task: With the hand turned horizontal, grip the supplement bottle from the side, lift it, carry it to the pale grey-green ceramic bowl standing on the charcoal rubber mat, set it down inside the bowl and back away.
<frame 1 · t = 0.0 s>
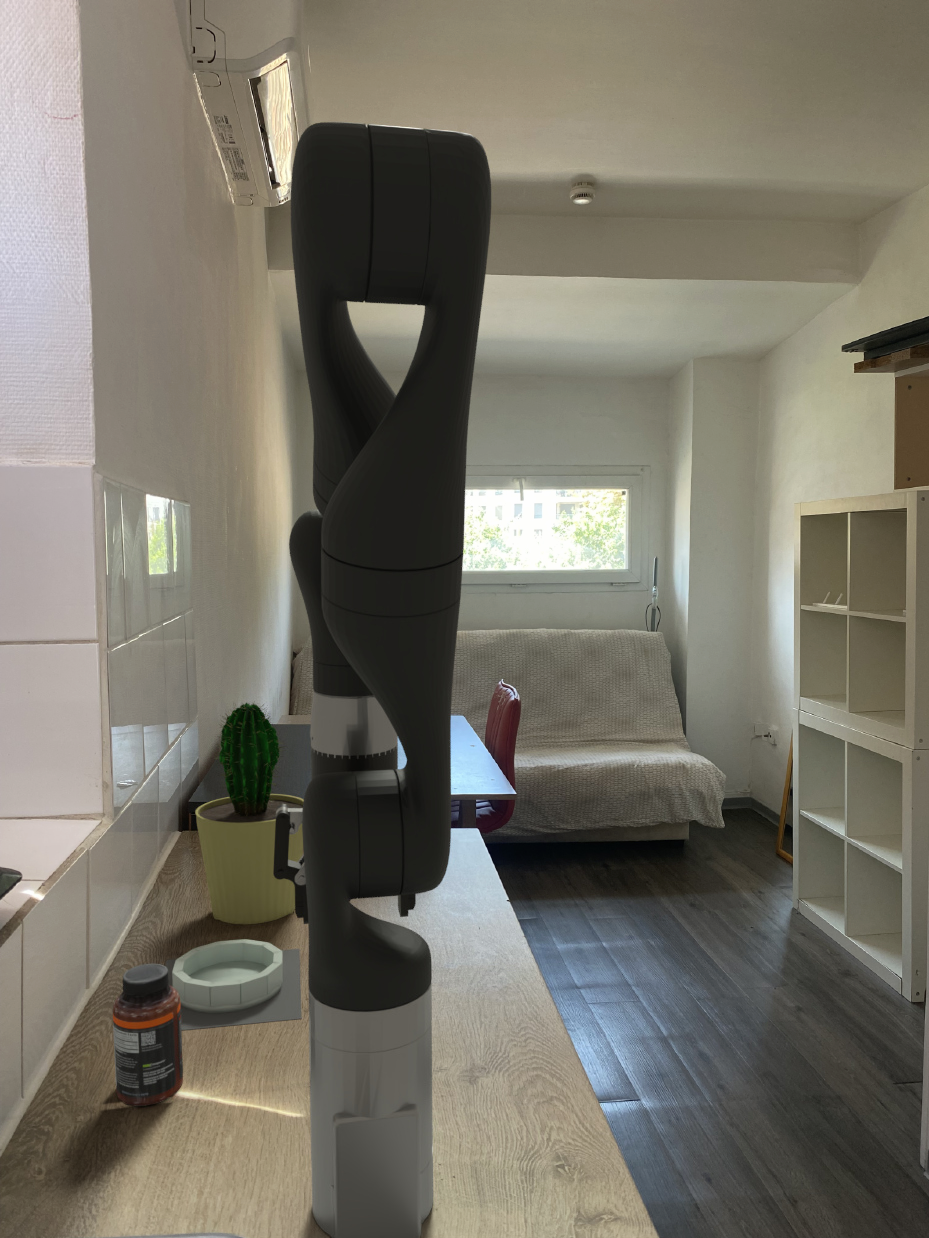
hand: (355, 916, 82), 17 cm above the kitchen counter, tool pointing down, fingers open, 8 cm apart
bowl: (229, 986, 105), resting on mat
mat: (229, 990, 105), on the kitchen counter
supplement bottle: (149, 1092, 85), on the kitchen counter
potted cactus: (254, 912, 129), on the kitchen counter
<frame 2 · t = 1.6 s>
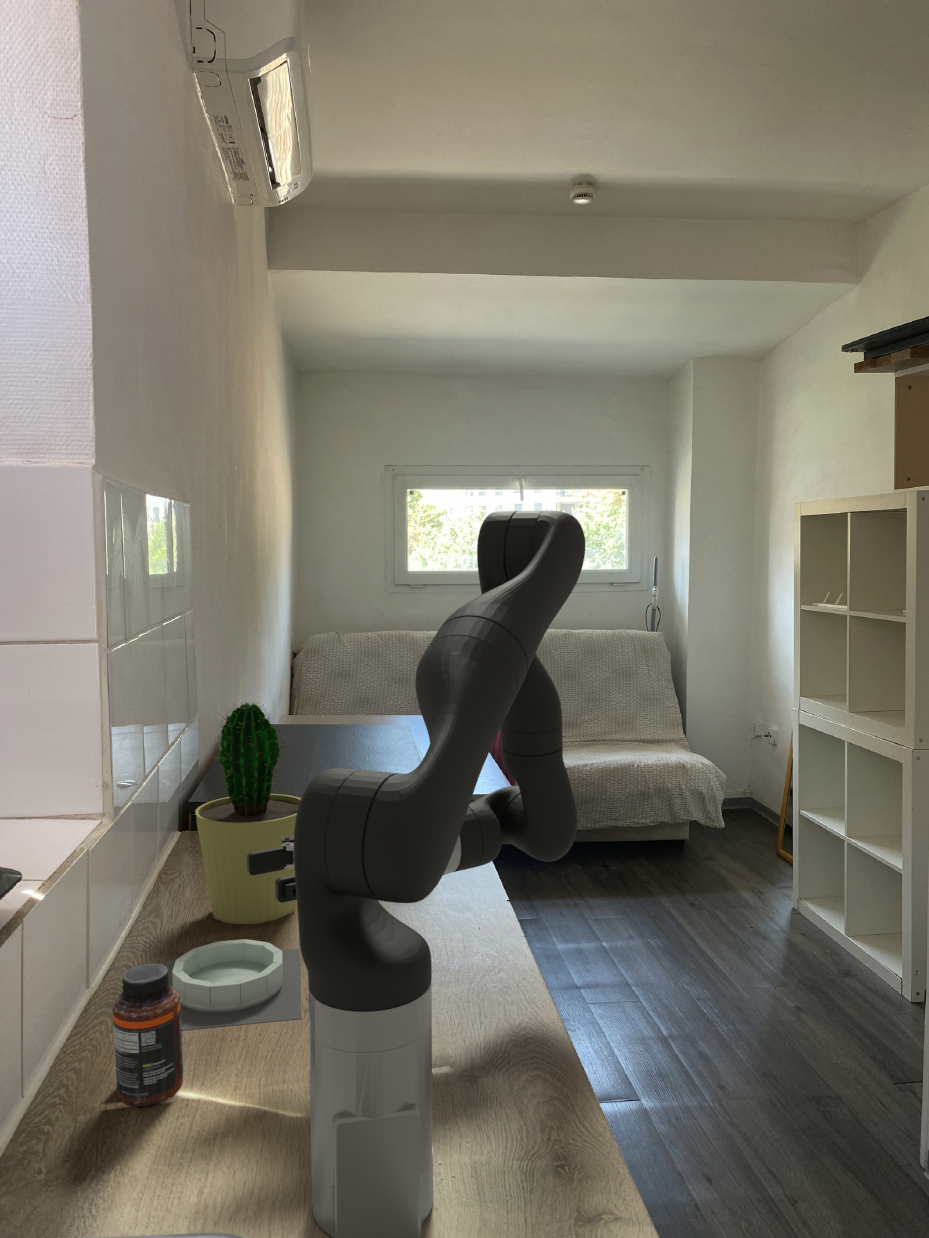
hand: (261, 877, 90), 18 cm above the kitchen counter, tool horizontal, fingers open, 8 cm apart
nothing on the kitchen counter moved.
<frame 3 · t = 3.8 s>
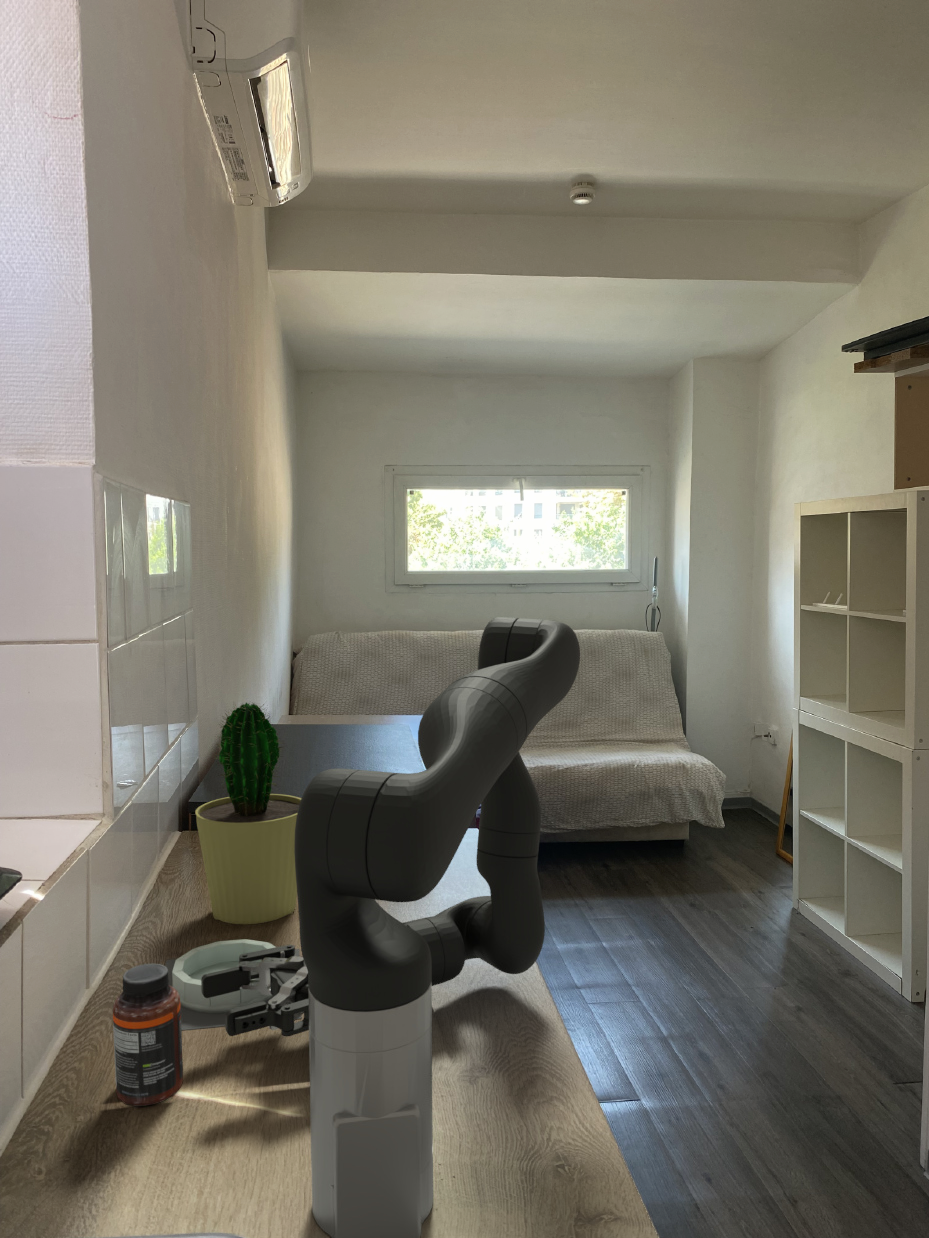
hand: (213, 1004, 88), 7 cm above the kitchen counter, tool horizontal, fingers open, 8 cm apart
nothing on the kitchen counter moved.
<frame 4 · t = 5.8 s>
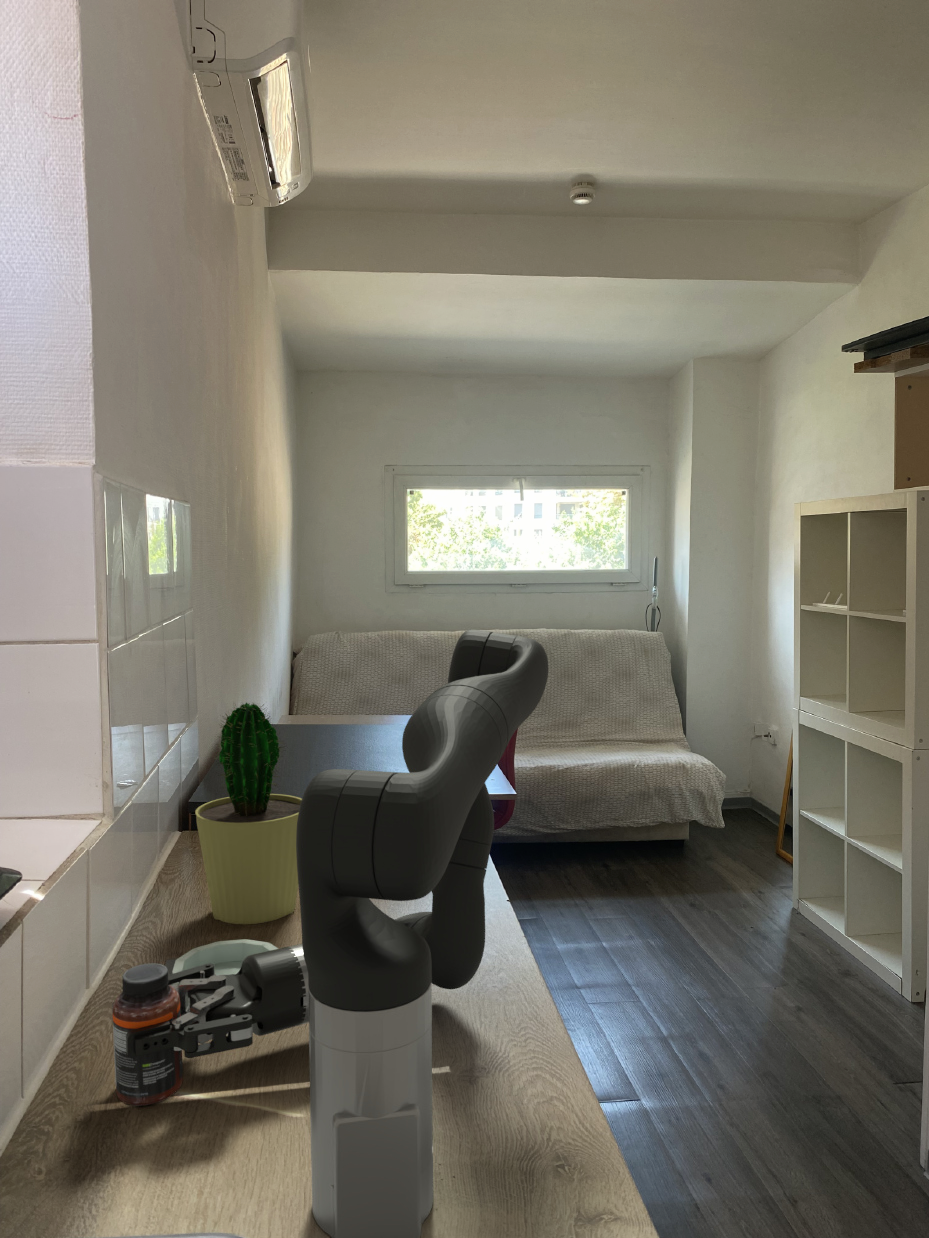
hand: (120, 1028, 84), 7 cm above the kitchen counter, tool horizontal, fingers closed on supplement bottle, 6 cm apart
supplement bottle: (149, 1092, 85), on the kitchen counter, touching gripper
everything else where it was.
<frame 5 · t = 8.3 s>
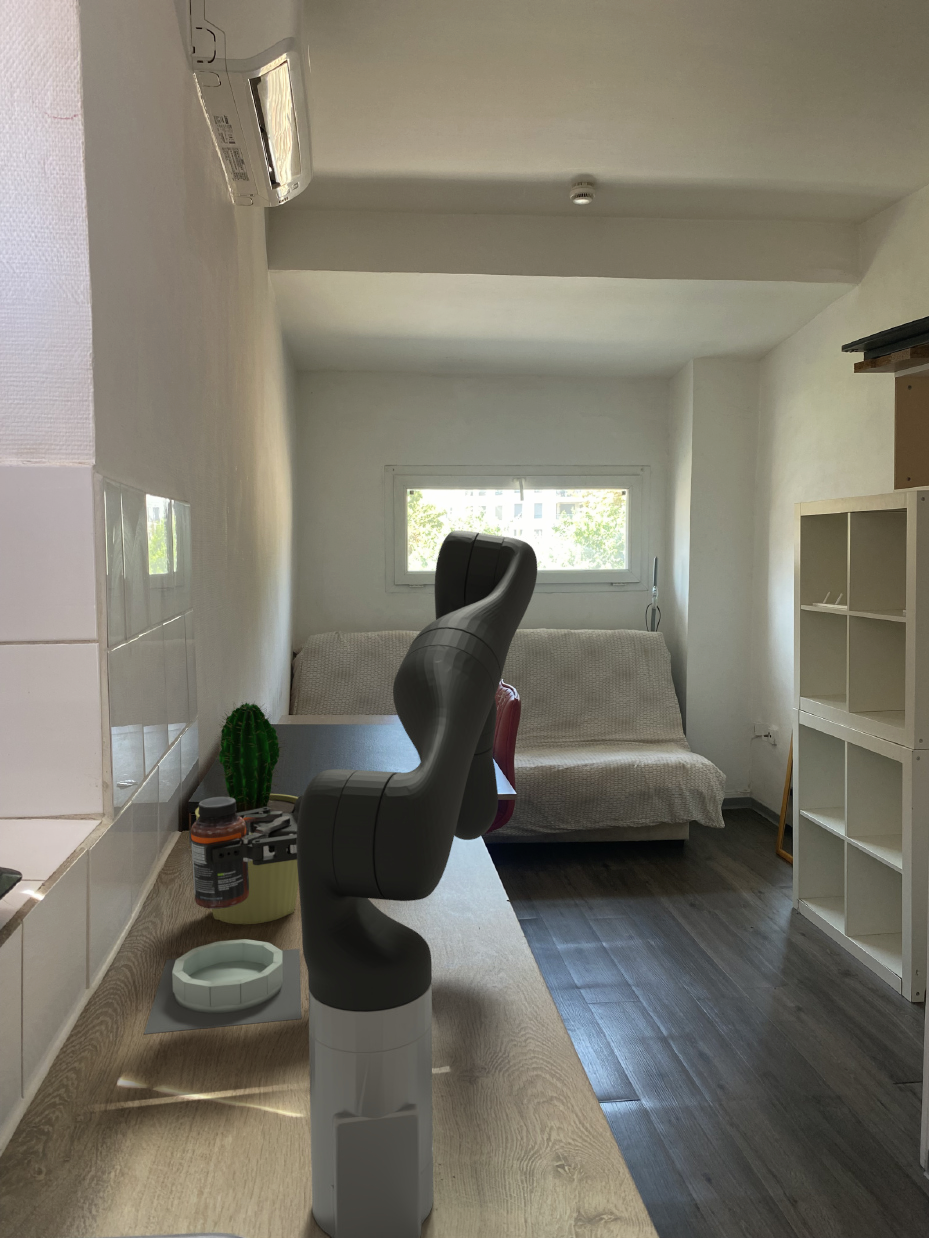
hand: (197, 846, 101), 18 cm above the kitchen counter, tool horizontal, fingers closed on supplement bottle, 6 cm apart
supplement bottle: (222, 902, 102), point 11 cm above the kitchen counter, touching gripper
everything else where it was.
when the fingers open (9 cm above the kitchen counter, at t = 10.7 s): supplement bottle stays where it is, resting on bowl.
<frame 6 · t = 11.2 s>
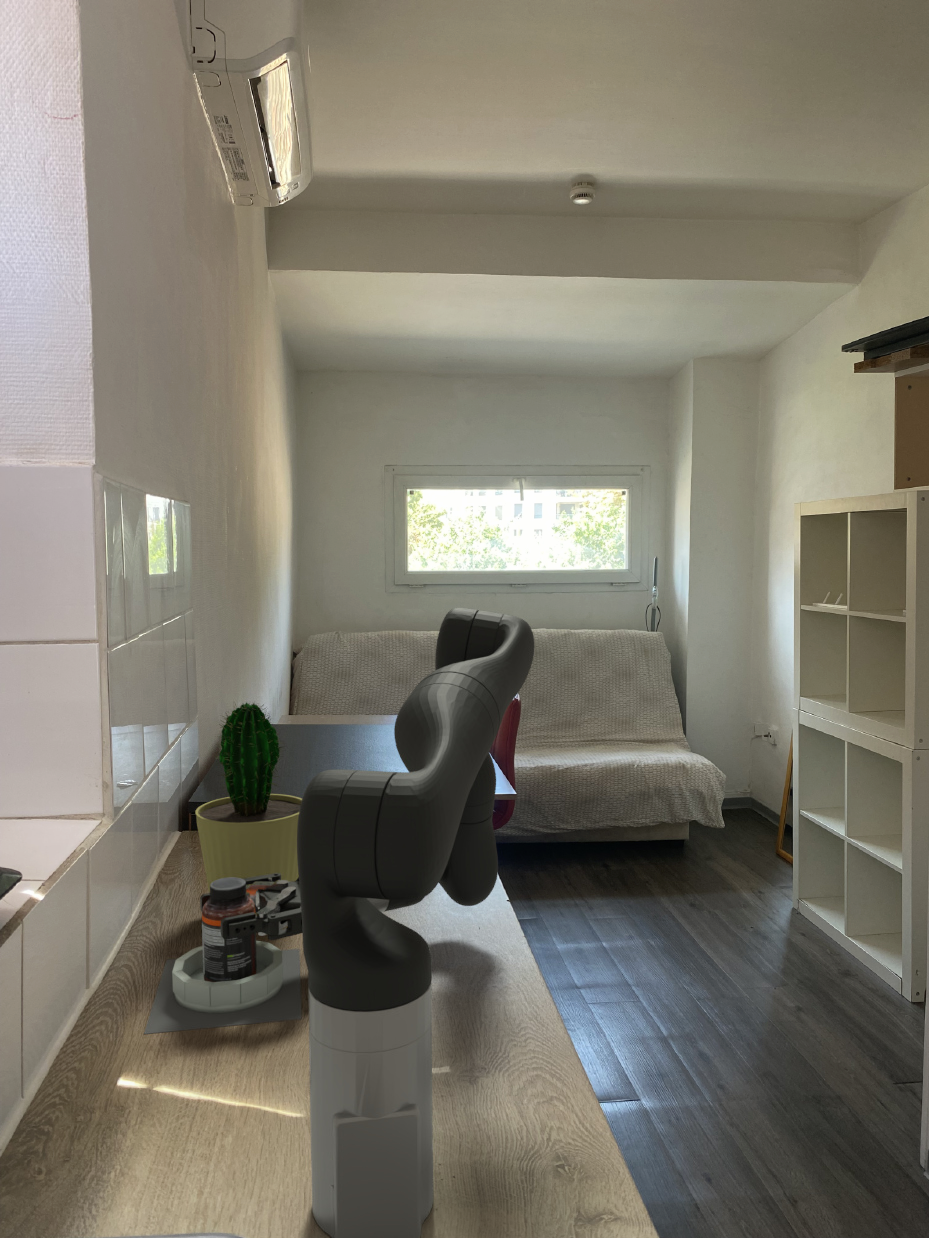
hand: (210, 916, 103), 9 cm above the kitchen counter, tool horizontal, fingers open, 8 cm apart
supplement bottle: (230, 980, 105), point 1 cm above the kitchen counter, touching bowl
everything else where it was.
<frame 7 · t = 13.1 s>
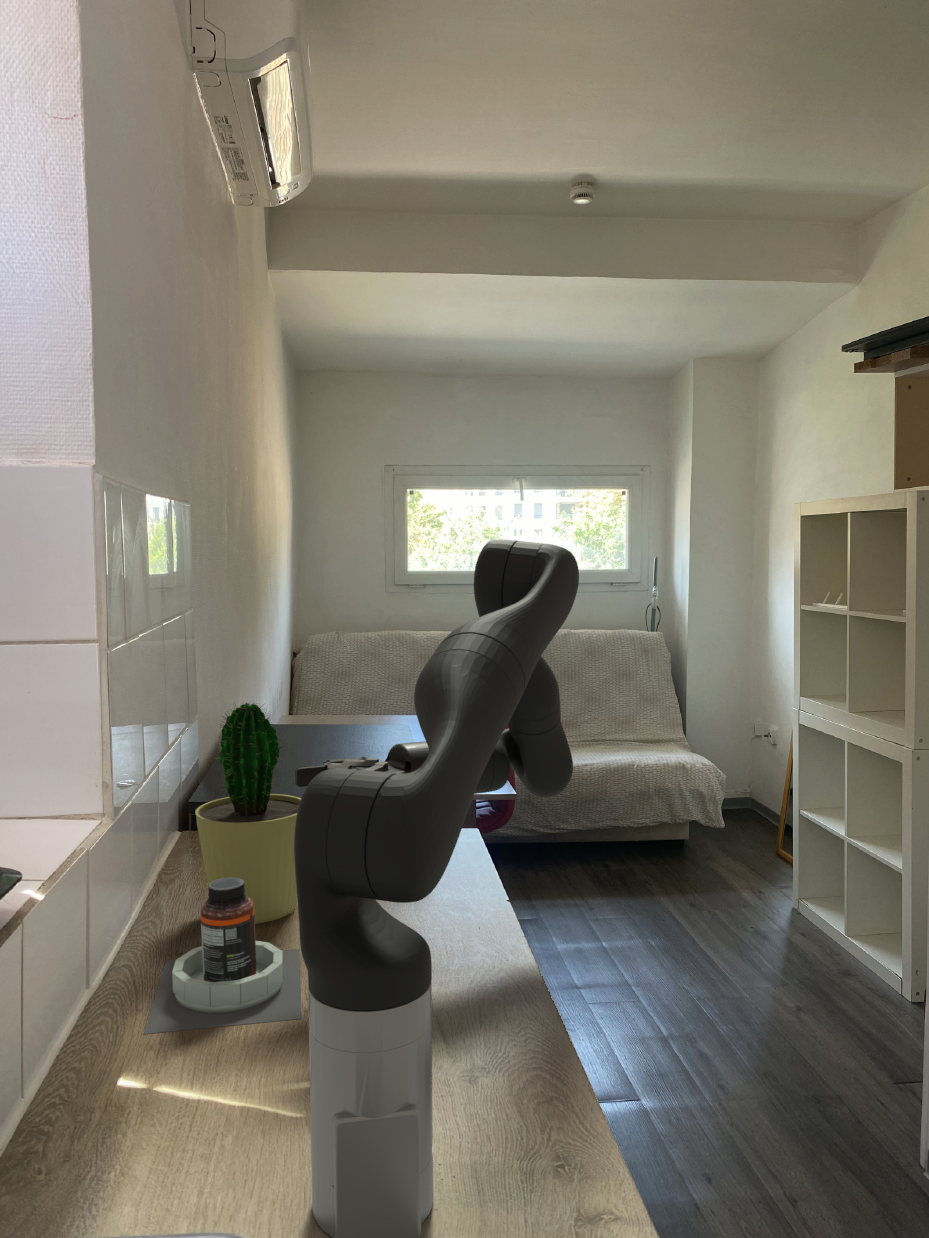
hand: (308, 784, 107), 23 cm above the kitchen counter, tool horizontal, fingers open, 8 cm apart
nothing on the kitchen counter moved.
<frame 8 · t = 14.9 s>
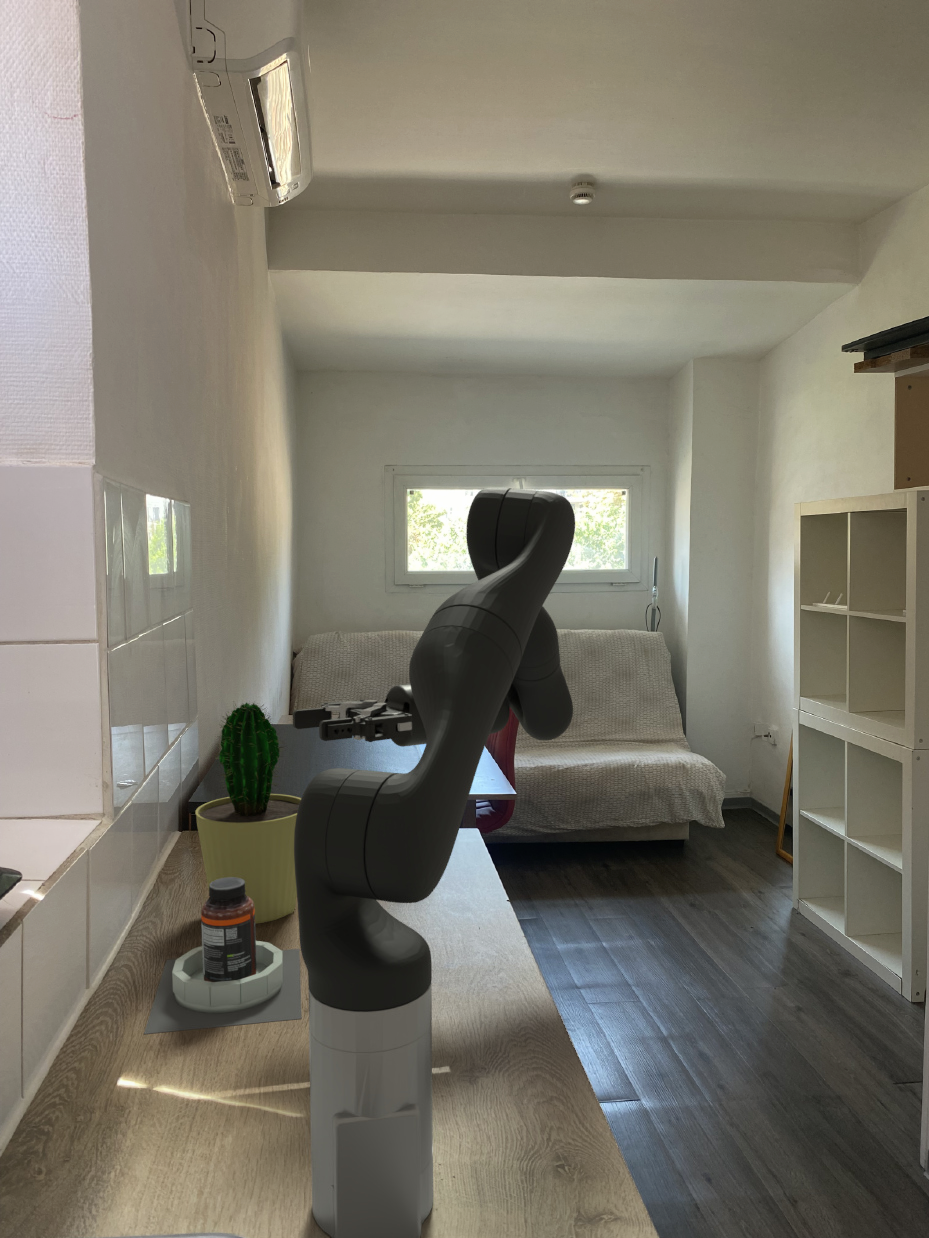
hand: (306, 725, 106), 30 cm above the kitchen counter, tool horizontal, fingers open, 8 cm apart
nothing on the kitchen counter moved.
at the end: supplement bottle 0.2 cm from the bowl (horizontally); supplement bottle tilted 0°; the gripper is holding nothing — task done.
